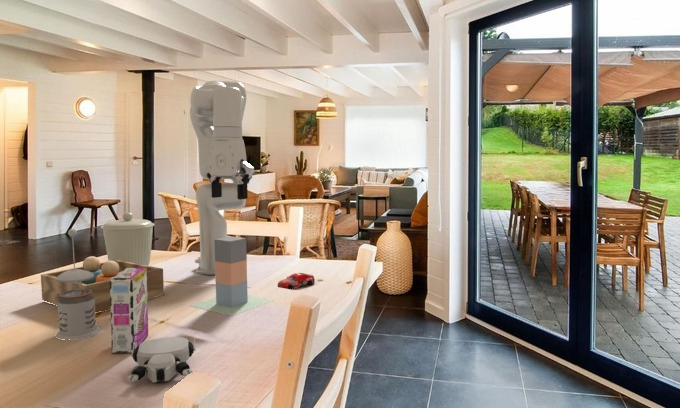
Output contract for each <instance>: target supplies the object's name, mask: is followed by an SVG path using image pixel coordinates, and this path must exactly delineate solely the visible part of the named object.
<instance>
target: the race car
mask: <svg viewBox="0 0 680 408" xmlns="http://www.w3.org/2000/svg"><path fill="white" fill-rule="evenodd" d="M313 284H315V276H314V274H310V273H303V272H302V273H301V272H297V273H293V274H292V273H291V274H290V275H289V276H286V278H284V279H282V280H280V281H278V283H277V288H280V289H285V290H290V291H291V290H294V289H297V288H302V287H305V286H307V287H308V286H312V285H313Z"/></svg>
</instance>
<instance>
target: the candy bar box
mask: <svg viewBox="0 0 680 408" xmlns="http://www.w3.org/2000/svg"><path fill="white" fill-rule="evenodd" d="M110 305H111V310H110V324H111V325H110V328H111V329H110V331H111V332H110V334H111V338H110V339H111V354H131V353H132V350H133V342H135V346H134V350H135V349H136V347H138V346H139V345H140V343H142V342H145V341H146V338H147V337H148V336H149V313H148V312H149V311H148V305H149V304H148V299H147V268H126V269H124V270H123V271H121V272H120V273H118V274H117V275H115V276H113V277H112V278H110Z"/></svg>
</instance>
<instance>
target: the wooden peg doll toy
mask: <svg viewBox="0 0 680 408" xmlns="http://www.w3.org/2000/svg"><path fill="white" fill-rule="evenodd" d="M82 262H83V263H82V267H83V268H84V269H85V270H86V271H89V272H91V273H93V274H94V277H93V278H91V279H88V280H84V281H81V282H82V283H84V284H87V285H89V284H93V283H97V282H102V281H106V280H110V278H112V277H113V276H115V275H117V274H118V273H120V272H119V265H118V264H117V263H116V262H115V261H108V260H107V261H105V263H104V262H103V263H104V264H103V265H102V267H101V270H100V269H99V267H100V263H101V261H100V259H99V258H98V257H96V256H93V255H92V256H88V257H86V258H85V259H84V260H83V261H82Z"/></svg>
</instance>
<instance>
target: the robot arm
mask: <svg viewBox="0 0 680 408" xmlns="http://www.w3.org/2000/svg"><path fill="white" fill-rule="evenodd" d="M189 100H190V109H189V116H190V122H191V126H192V127H193V131H194V132H195V135H196V138H197V144H198V168H199V174H200V176H201V177H202V178H203V179H206V180H209V182H208V183H203V184H201V185H199V186H198V187H197V188H196V190H195V199H196V205H197V206H196V207H197V211H198V220H199V221H198V223H199V226H198V227H199V251H200V252H199V253H200V256H199V257H197V259H195V260H194V263H195V264H198V267H196V269H195V271H196V273H197V274H200V275H206V276H207V275H209V276H210V275H211V276H212V275H213V276H214V275H215V240H214V239H219V238H224V237H228V225H227V220H226V218H225V217H224V216H223V215H222V214H221V213H220V211H225V210H229V211H230V210H242V209H244V207H246V203H247V199H248V197H249V196H248V193H249V192H248V185H249V184H250V181H251V179H252V178H253V174H254V171H255V167H254V166H252V165H251V164H250V163H248V162H247V153H246V152H247V151H246V146H245V142H244V141H245V140H244V139H243V118H244V114H245V110H246V104H247V91H246V88H245V86H244V84H243V83H242V82H239V81H233V80H232V81H231V80H209V81H206V82H205V83H203V85H199V86H198V85H197V86H195V87H193V88H192V90H191V92H190V99H189ZM221 180H230V181H232V182H226V183H225V182H221Z"/></svg>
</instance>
